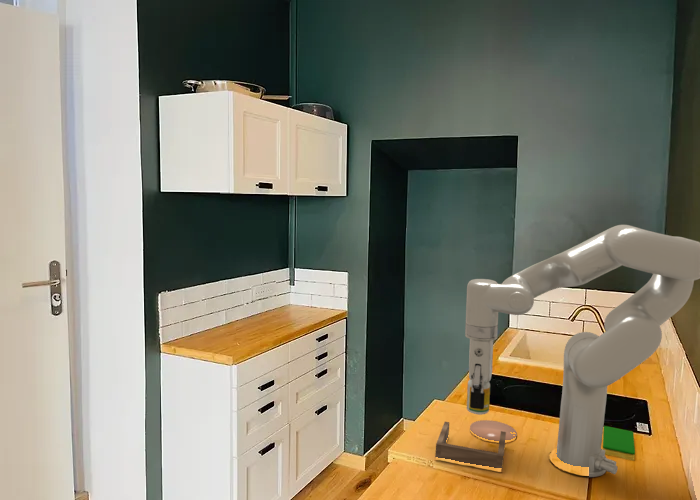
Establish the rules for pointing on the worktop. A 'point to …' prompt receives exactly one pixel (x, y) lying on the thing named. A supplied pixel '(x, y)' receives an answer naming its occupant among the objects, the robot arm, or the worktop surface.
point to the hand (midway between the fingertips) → (478, 402)
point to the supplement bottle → (486, 398)
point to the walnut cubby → (469, 451)
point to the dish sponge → (618, 443)
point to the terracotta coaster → (492, 430)
